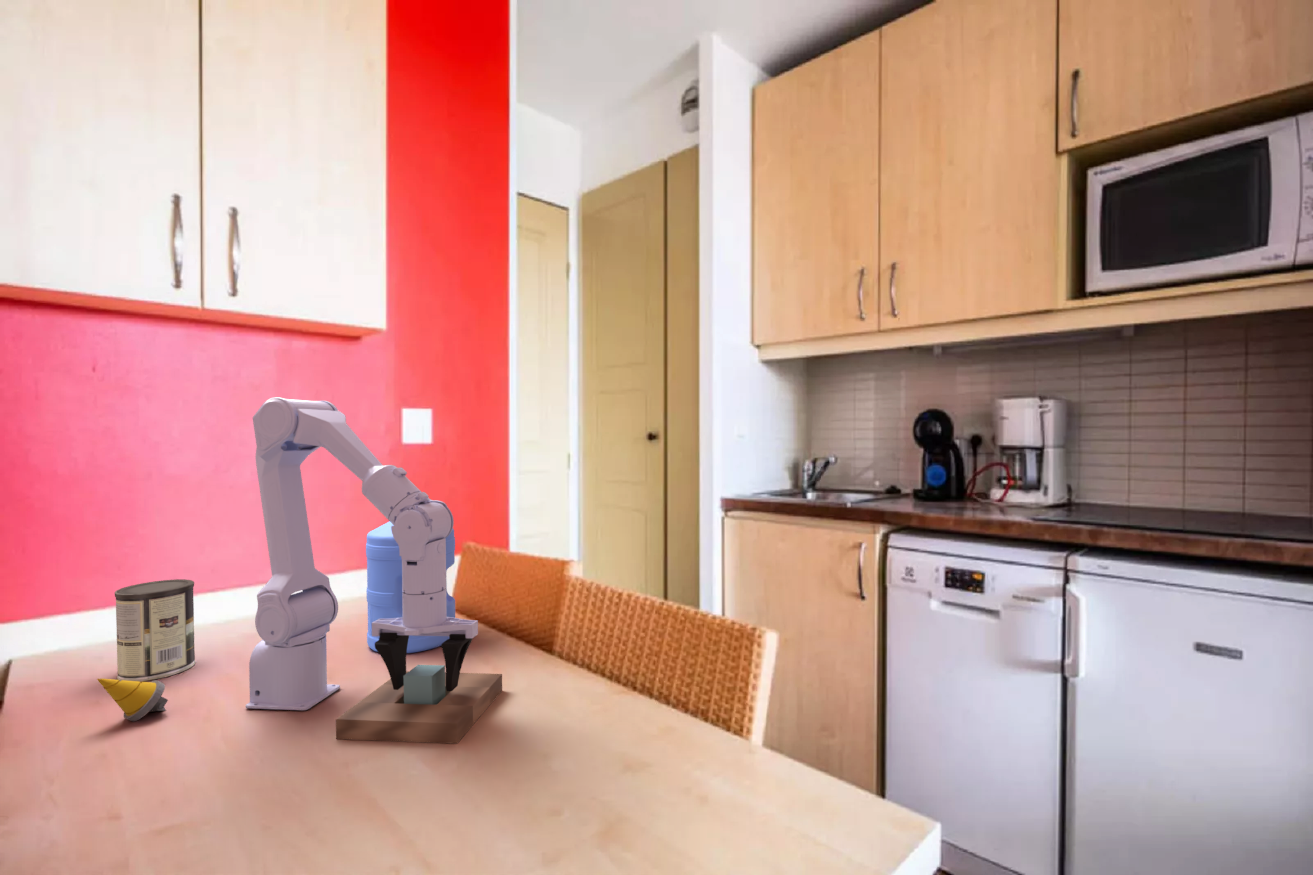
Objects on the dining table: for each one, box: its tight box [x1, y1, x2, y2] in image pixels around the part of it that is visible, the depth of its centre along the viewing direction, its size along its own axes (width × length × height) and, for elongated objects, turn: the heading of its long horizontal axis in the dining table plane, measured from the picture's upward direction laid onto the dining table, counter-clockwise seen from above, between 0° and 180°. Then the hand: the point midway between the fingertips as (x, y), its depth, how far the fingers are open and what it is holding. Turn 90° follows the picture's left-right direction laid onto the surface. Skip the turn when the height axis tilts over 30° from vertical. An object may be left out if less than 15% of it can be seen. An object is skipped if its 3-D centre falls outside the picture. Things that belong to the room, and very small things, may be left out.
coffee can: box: [114, 578, 196, 682], centre depth 102 cm, size 10×10×14 cm
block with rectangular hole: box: [335, 670, 503, 744], centre depth 85 cm, size 16×16×2 cm
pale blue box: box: [404, 664, 446, 705], centre depth 85 cm, size 4×4×6 cm
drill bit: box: [96, 678, 169, 722], centre depth 84 cm, size 5×5×10 cm
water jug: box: [365, 520, 456, 654], centre depth 116 cm, size 16×16×28 cm
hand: (425, 687), depth 85 cm, fingers open, 7 cm apart
